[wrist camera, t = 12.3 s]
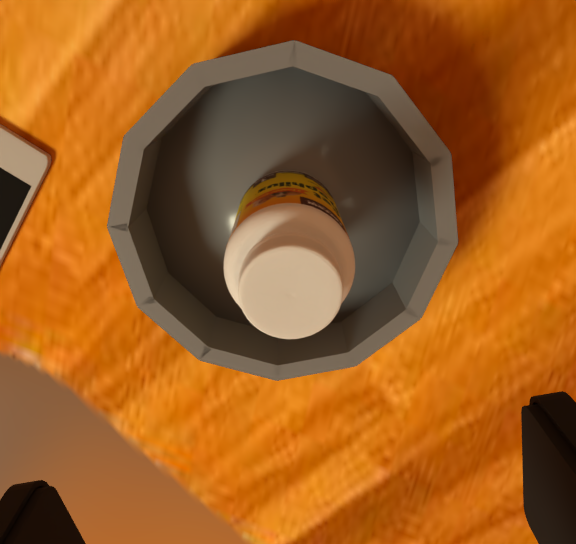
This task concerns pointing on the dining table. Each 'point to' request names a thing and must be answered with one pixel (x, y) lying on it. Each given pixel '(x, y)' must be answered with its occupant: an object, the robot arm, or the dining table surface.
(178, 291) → the bowl
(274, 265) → the supplement bottle
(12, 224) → the smartphone
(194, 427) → the dining table surface
